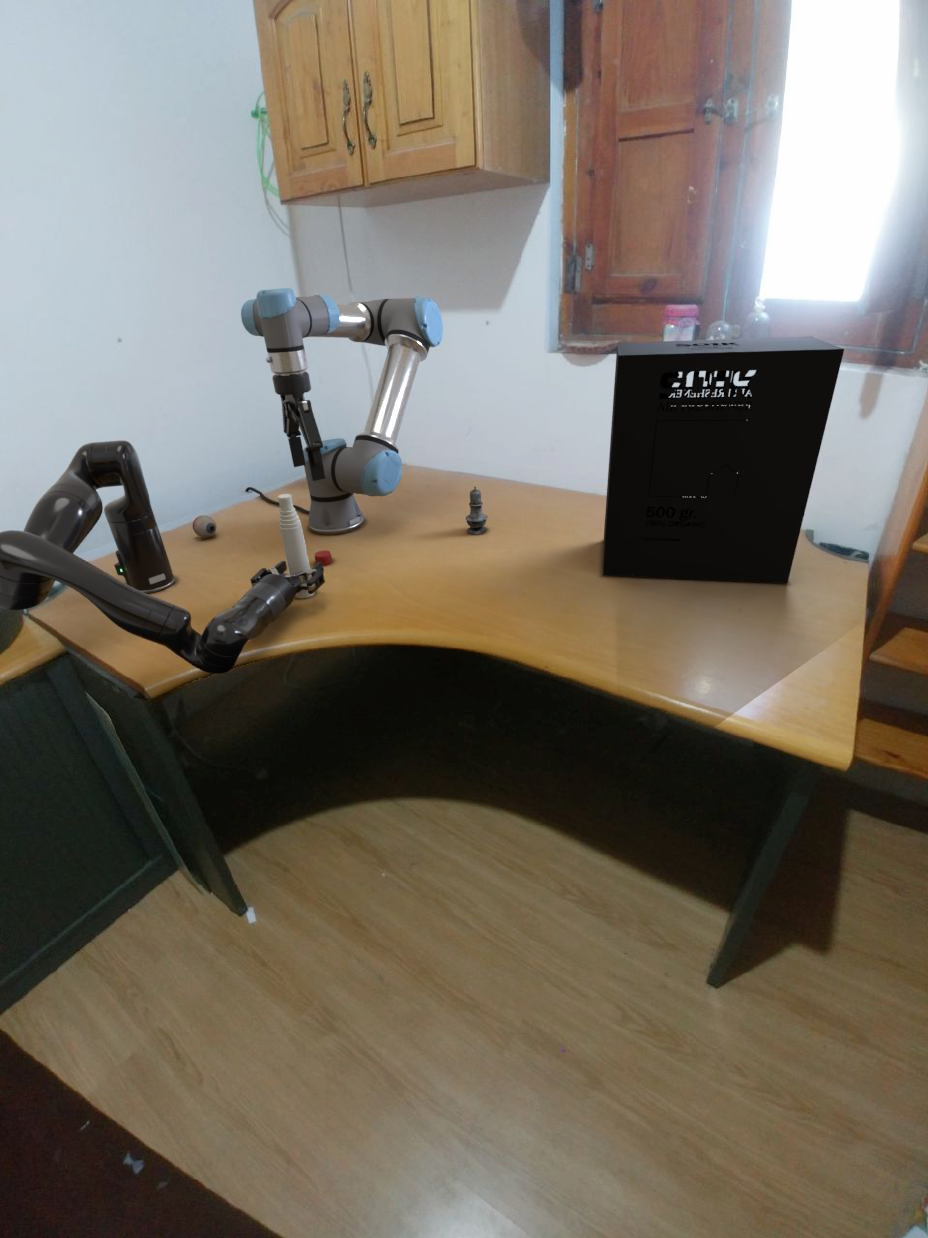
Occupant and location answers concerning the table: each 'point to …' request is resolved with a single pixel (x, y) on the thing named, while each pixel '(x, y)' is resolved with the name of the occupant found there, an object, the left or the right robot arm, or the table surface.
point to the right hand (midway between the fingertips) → (309, 472)
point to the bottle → (293, 540)
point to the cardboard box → (714, 456)
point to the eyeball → (204, 526)
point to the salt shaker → (476, 514)
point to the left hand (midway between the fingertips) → (302, 565)
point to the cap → (323, 557)
